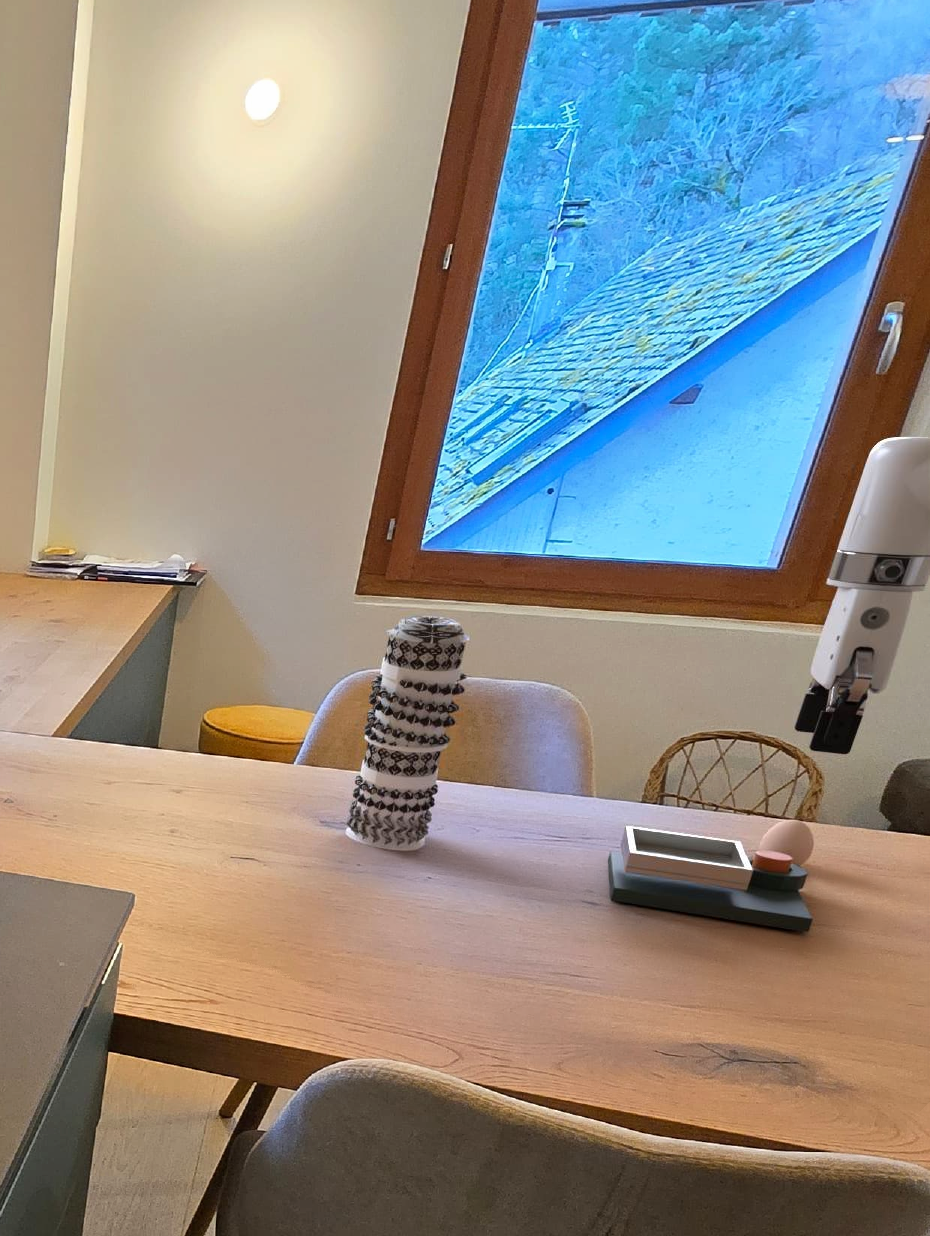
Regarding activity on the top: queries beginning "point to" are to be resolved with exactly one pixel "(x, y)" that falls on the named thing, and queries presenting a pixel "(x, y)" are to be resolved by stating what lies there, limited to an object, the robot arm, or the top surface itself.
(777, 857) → the button
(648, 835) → the pan
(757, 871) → the scale
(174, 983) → the top surface
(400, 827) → the decorative candle
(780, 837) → the egg
